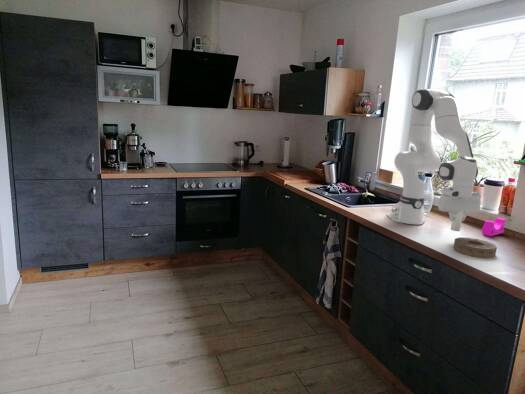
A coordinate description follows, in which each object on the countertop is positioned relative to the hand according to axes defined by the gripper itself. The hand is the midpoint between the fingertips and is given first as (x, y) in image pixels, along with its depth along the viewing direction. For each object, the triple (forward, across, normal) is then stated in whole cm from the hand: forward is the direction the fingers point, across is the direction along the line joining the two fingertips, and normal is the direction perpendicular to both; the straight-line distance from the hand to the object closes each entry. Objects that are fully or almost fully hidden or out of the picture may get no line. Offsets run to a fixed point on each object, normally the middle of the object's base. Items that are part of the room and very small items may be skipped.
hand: (456, 220), depth 185 cm
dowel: (+5, 0, 0) cm, 5 cm away
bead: (+10, 0, +14) cm, 17 cm away
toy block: (+11, -34, -15) cm, 39 cm away
